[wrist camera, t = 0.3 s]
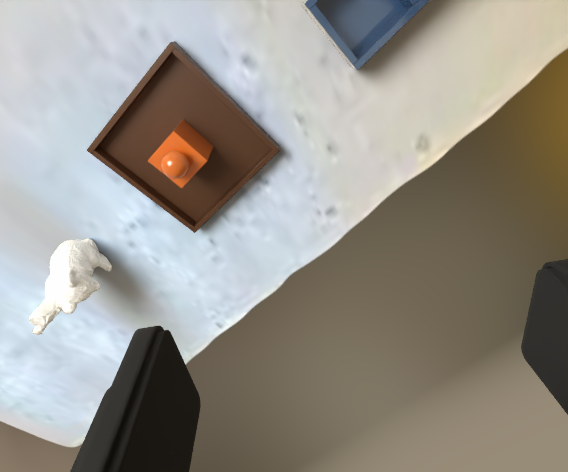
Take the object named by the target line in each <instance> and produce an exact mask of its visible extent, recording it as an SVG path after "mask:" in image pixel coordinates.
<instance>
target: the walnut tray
mask: <svg viewBox="0 0 568 472" xmlns="http://www.w3.org/2000/svg"><path fill="white" fill-rule="evenodd" d="M182 120H185V121H186V122H187V123H188V124H189V125H190V126H191V127H192V128H193V129H195V130H196V131H197V132H198V133H199V134H200V135H201V136H202V137H203V138H205V139H206V140H207V141H208V142H209V143H210V144H211V145H212V146H213V149H212V151H211V154H210V156H209V159H208V161H207V162H206V163H205V164H204V165H203V166H202V167H201V168H200V170H199V171H198V172H197V173H196V174H195V175H194V176H193V177H192V178H191V179H190V180H189V181H188V182H187V183H186V184H185V185H184V186H183V187H182V188H181V187H179V186H178V185H177V184H176V183H174V182H173V181H172V180H171V179H169V178H168V177H167V176H166V175H165V174H163V173H162V172H161V171H160V170H158V169H157V168H156V167H155V166H153V165H152V164H151V163H150V162H148V160H149V158H150V157H151V156H152V155H153V154H154V152H155V151H156V150H157V149H158V148H159V146H160V145H161V144H162V143H163V142H164V141H165V139H166V138H167V137H168V136H169V135H170V134H171V133H172V131H173V130H174V129H175V128H176V127H177V126H178V124H179V123H180V122H181V121H182ZM87 151H88V152H90V153H91V154H92V155H94V156H95V157H96V158H97V159H99V160H100V161H101V162H103V163H104V164H105V165H107V166H108V167H109V168H111V169H112V170H113V171H115V172H116V173H117V174H118V175H120V176H121V177H122V178H124V179H125V180H126V181H128V182H129V183H130V184H132V185H133V186H134V187H135V188H137V189H138V190H139V191H141V192H142V193H143V194H145V195H146V196H147V197H149V198H150V199H151V200H153V201H154V202H155V203H156V204H158V205H159V206H160V207H162V208H163V209H164V210H166V211H167V212H168V213H170V214H171V215H172V216H173V217H175V218H176V219H177V220H179V221H180V222H181V223H183V224H184V225H185V226H187V227H188V228H189V229H191V230H192V231H193V232H194V233H195V232H196V231H197V230H198V229H199V228H200V227H201V226H202V225H203V224H204V223H205V222H206V221H207V220H209V219H210V218H211V217H212V216H213V215H214V214H215V213H216V212H217V211H218V210H219V209H220V208H221V207H222V206H223V205H224V204H225V203H226V202H227V201H228V200H229V199H230V198H231V197H232V196H233V195H234V194H235V193H236V192H237V191H238V190H239V189H240V188H242V187H243V186H244V185H245V184H246V183H247V182H248V181H249V180H250V179H251V178H252V177H253V176H254V175H255V174H256V173H257V172H258V171H259V170H260V169H261V168H262V167H263V166H264V165H265V164H266V163H267V162H268V161H269V160H270V159H271V158H272V157H273V156H274V155H276V154H277V153H278V152H279V145H278V144H277V143H276V142H275V141H274V140H273V139H272V138H271V137H270V136H269V135H268V134H267V133H266V132H265V131H264V130H263V129H262V128H261V127H260V126H259V125H258V124H257V123H256V122H255V121H254V120H253V119H252V118H251V117H250V116H249V115H248V114H247V113H246V112H245V111H244V110H243V109H242V108H241V107H240V106H239V105H238V104H237V103H236V102H235V101H234V100H233V99H232V98H231V97H230V96H229V95H228V94H227V93H226V92H225V91H224V90H223V89H222V88H221V87H220V86H219V85H218V84H217V83H216V82H215V81H214V80H213V79H212V78H211V77H210V76H209V75H208V74H207V73H206V72H205V71H204V70H203V69H202V68H201V67H200V66H199V65H198V64H197V63H196V62H195V61H194V60H193V59H192V58H191V57H190V56H189V55H188V54H187V53H186V52H185V51H184V50H183V49H182V48H181V47H180V46H179V45H178V44H177V43H176V42H171V43H170V44H169V45H168V46H167V47H166V49H165V50H164V51H163V53H162V54H161V55H160V56H159V58H158V59H157V60H156V62H155V63H154V64H153V65H152V67H151V68H150V69H149V71H148V72H147V73H146V74H145V76H144V77H143V78H142V80H141V81H140V82H139V83H138V85H137V86H136V87H135V89H134V90H133V91H132V92H131V94H130V95H129V96H128V98H127V99H126V100H125V101H124V103H123V104H122V105H121V107H120V108H119V109H118V110H117V112H116V113H115V114H114V116H113V117H112V118H111V119H110V121H109V122H108V123H107V125H106V126H105V127H104V128H103V130H102V131H101V132H100V134H99V135H98V136H97V138H96V139H95V140H94V141H93V143H92V144H91V145H90V147H89V148H88V149H87Z"/></svg>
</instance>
